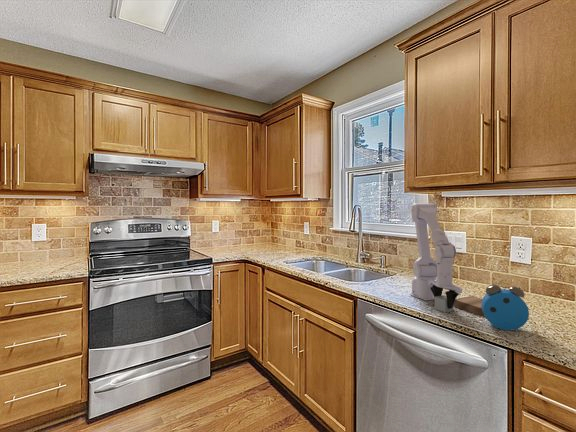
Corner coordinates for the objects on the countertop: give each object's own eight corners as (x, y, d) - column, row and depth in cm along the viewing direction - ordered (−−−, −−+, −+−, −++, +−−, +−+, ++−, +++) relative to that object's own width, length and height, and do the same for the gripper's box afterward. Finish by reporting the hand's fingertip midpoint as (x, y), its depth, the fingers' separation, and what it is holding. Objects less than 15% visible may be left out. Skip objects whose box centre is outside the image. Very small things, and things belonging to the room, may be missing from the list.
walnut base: (453, 306, 132) (453, 299, 132) (472, 302, 137) (472, 295, 137) (481, 315, 121) (481, 308, 121) (500, 311, 126) (500, 304, 126)
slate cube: (434, 308, 130) (434, 296, 130) (443, 306, 132) (443, 295, 132) (444, 312, 125) (445, 300, 125) (453, 310, 127) (453, 298, 127)
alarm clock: (523, 327, 110) (525, 285, 109) (529, 334, 104) (530, 290, 103) (480, 321, 115) (481, 281, 114) (483, 328, 110) (484, 286, 109)
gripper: (423, 270, 133) (422, 302, 134) (453, 278, 120) (452, 313, 120) (435, 269, 136) (434, 300, 136) (466, 276, 122) (465, 310, 123)
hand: (444, 306), depth 128 cm, fingers closed on slate cube, 5 cm apart
